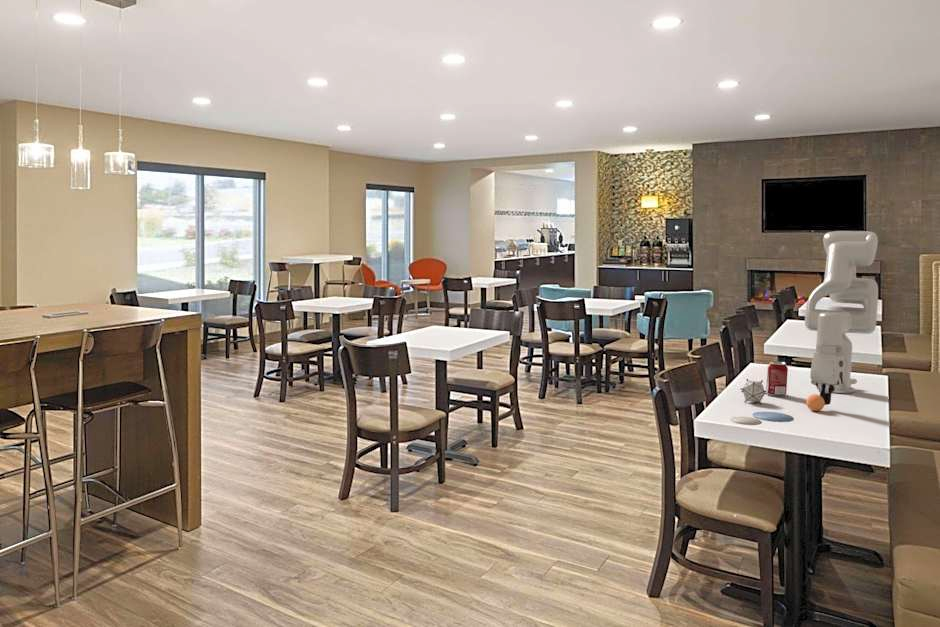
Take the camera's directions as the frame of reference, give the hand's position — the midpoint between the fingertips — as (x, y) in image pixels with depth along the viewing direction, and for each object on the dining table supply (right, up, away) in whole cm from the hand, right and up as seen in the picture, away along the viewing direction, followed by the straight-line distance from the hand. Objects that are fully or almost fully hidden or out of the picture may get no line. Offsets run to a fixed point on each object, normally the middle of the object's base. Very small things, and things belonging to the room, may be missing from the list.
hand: (824, 403), depth 241 cm
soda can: (-7, 0, +21) cm, 23 cm away
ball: (-4, +1, -2) cm, 4 cm away
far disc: (-32, -3, -16) cm, 36 cm away
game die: (-20, -1, +9) cm, 22 cm away
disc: (-22, -3, -10) cm, 24 cm away
